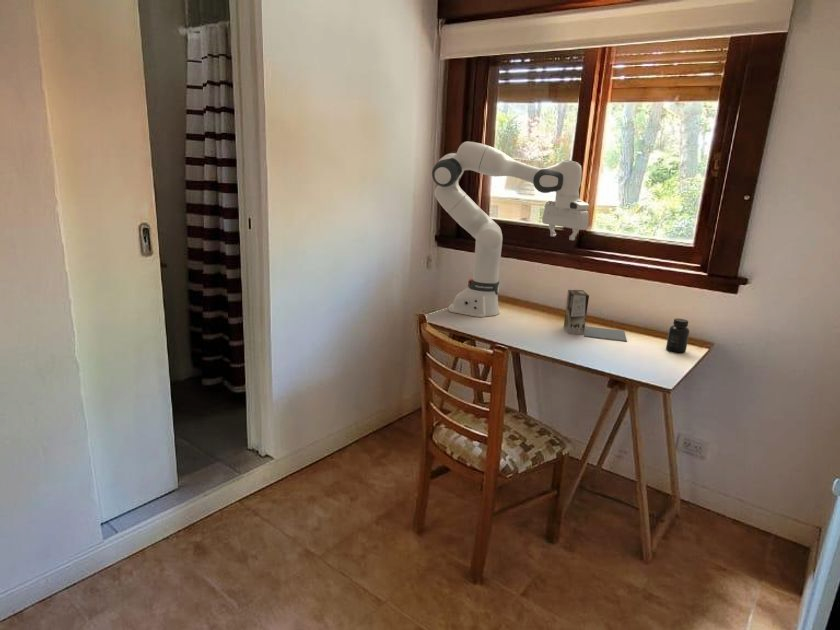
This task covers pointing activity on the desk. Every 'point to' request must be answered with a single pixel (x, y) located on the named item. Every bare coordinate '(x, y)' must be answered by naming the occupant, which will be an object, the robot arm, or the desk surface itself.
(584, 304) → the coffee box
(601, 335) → the mat
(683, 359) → the desk surface
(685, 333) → the supplement bottle
